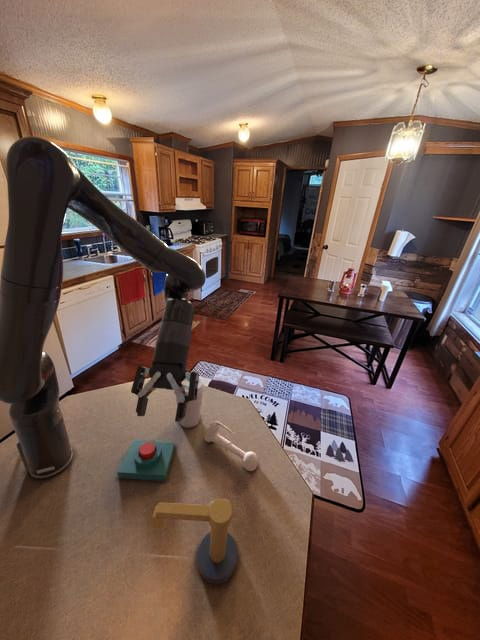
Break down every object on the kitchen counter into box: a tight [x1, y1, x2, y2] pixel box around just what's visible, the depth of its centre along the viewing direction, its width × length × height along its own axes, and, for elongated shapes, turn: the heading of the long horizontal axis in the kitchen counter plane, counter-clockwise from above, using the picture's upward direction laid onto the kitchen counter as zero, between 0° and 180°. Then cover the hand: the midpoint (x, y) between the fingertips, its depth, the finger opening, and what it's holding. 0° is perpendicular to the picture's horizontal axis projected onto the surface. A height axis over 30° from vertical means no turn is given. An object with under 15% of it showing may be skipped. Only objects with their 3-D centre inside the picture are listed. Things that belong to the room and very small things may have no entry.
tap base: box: [196, 526, 238, 586], centre depth 49 cm, size 8×8×13 cm
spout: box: [152, 497, 233, 531], centre depth 46 cm, size 14×4×5 cm, turn 89°
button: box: [139, 442, 156, 459], centre depth 68 cm, size 4×4×2 cm
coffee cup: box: [173, 377, 205, 429], centre depth 81 cm, size 10×10×15 cm
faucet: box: [203, 420, 259, 472], centre depth 73 cm, size 4×18×10 cm, turn 56°
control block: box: [117, 439, 176, 482], centre depth 69 cm, size 12×10×4 cm
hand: (159, 418), depth 53 cm, fingers open, 8 cm apart
